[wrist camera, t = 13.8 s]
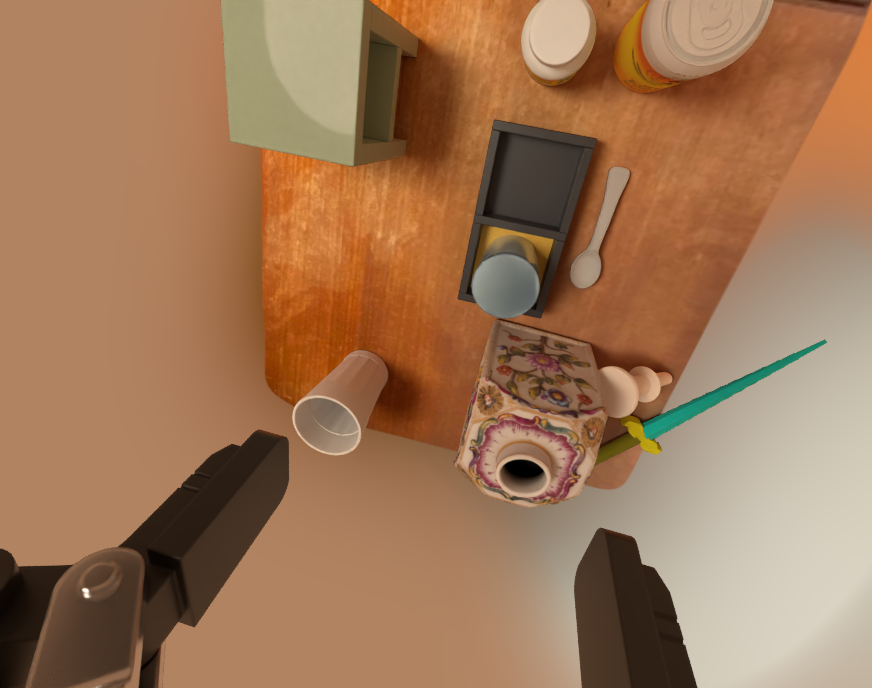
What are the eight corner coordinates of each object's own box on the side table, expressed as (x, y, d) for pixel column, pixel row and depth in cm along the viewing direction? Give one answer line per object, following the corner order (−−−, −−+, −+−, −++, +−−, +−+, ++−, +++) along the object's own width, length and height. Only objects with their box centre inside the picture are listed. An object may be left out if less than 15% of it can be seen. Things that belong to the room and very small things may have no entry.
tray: (496, 119, 40) (493, 119, 37) (593, 138, 39) (597, 138, 36) (461, 289, 48) (457, 299, 46) (540, 307, 47) (541, 318, 45)
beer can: (617, 104, 38) (660, 91, 25) (607, 24, 35) (648, -37, 22) (693, 78, 36) (784, 49, 23) (688, -8, 33) (786, -95, 20)
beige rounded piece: (623, 359, 41) (680, 348, 46) (583, 375, 45) (640, 363, 51) (644, 411, 40) (701, 393, 45) (600, 422, 44) (657, 405, 49)
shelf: (316, 21, 40) (218, -28, 27) (419, 38, 39) (364, -4, 26) (314, 138, 44) (229, 141, 32) (405, 156, 43) (353, 167, 31)
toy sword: (585, 492, 54) (848, 368, 42) (557, 462, 52) (821, 324, 41) (582, 478, 56) (830, 356, 45) (554, 448, 55) (804, 314, 43)
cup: (394, 400, 58) (362, 461, 47) (339, 391, 59) (296, 448, 48) (394, 349, 54) (359, 402, 43) (335, 340, 55) (288, 390, 45)
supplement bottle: (552, -3, 35) (556, -43, 27) (601, 39, 36) (620, 12, 27) (510, 62, 38) (503, 43, 30) (557, 100, 38) (563, 93, 30)
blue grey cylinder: (488, 228, 44) (479, 247, 37) (546, 241, 43) (548, 262, 36) (476, 283, 47) (465, 310, 40) (530, 295, 46) (529, 325, 39)
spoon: (564, 282, 46) (565, 287, 44) (603, 164, 41) (606, 163, 39) (591, 288, 45) (594, 294, 43) (634, 170, 40) (639, 170, 38)
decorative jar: (469, 395, 54) (441, 504, 39) (492, 315, 49) (471, 404, 33) (560, 422, 53) (570, 544, 38) (595, 343, 48) (624, 448, 32)
